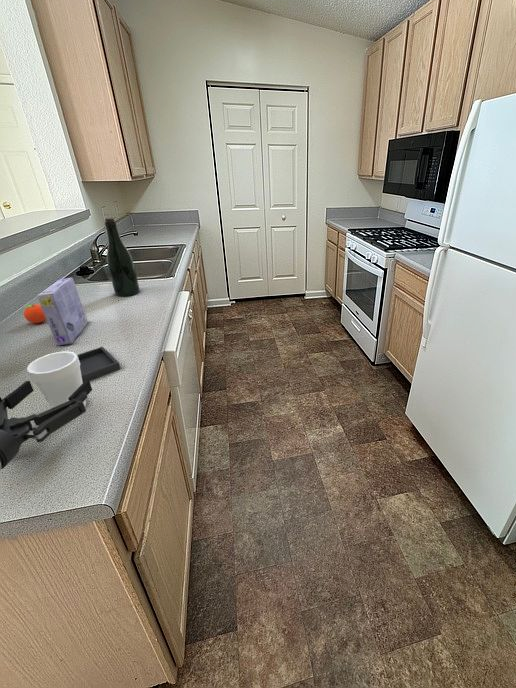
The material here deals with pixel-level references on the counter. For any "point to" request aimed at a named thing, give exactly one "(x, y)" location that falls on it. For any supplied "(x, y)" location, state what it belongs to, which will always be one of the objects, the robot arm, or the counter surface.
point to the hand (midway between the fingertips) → (59, 385)
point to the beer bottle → (120, 263)
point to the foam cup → (56, 376)
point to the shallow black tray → (96, 363)
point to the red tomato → (34, 313)
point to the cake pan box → (63, 310)
